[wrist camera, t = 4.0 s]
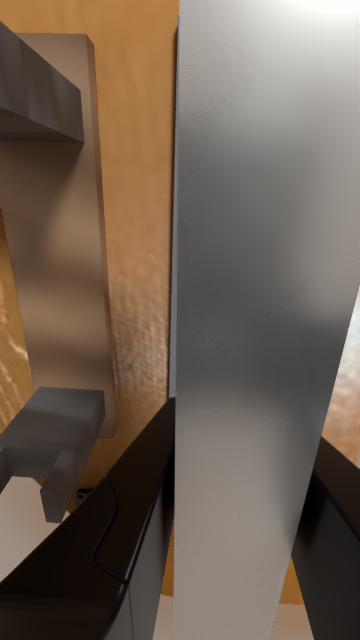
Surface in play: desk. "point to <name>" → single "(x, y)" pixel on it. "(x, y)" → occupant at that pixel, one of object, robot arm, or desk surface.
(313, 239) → the steel rail
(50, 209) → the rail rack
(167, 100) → the desk surface
